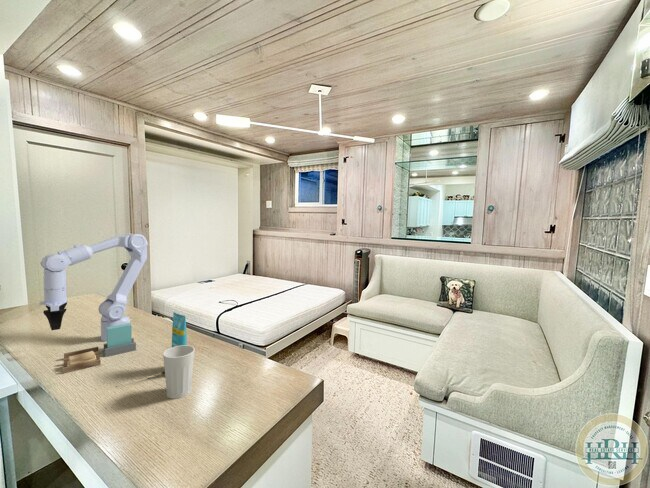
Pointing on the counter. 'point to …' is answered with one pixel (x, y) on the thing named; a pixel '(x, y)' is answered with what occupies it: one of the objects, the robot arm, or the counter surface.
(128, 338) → the teal block
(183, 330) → the tube
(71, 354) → the rack
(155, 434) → the counter surface
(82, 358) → the offcut top
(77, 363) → the offcut low
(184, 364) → the cup
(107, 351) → the holder
